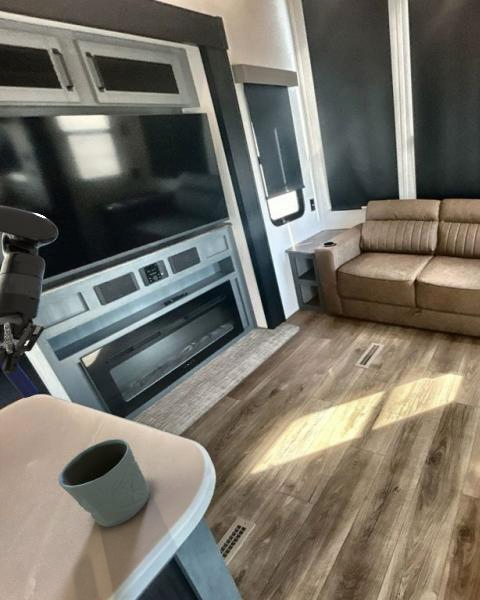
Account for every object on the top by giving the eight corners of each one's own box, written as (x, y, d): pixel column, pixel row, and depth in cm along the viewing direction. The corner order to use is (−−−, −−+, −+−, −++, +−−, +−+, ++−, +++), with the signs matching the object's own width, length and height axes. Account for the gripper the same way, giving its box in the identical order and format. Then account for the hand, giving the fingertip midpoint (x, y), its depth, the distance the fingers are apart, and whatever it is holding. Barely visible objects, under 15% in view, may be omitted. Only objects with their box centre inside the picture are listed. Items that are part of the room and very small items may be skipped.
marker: (19, 399, 82) (-15, 356, 77) (30, 390, 85) (-3, 348, 79) (31, 397, 82) (-2, 355, 77) (41, 389, 85) (10, 347, 79)
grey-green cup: (87, 510, 69) (51, 469, 63) (144, 470, 75) (116, 429, 70) (104, 542, 63) (67, 499, 57) (165, 495, 70) (136, 453, 64)
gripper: (-32, 295, 80) (-53, 375, 74) (30, 288, 79) (14, 367, 74) (5, 305, 87) (-11, 378, 82) (62, 298, 86) (49, 371, 81)
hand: (1, 372), depth 78 cm, fingers closed on marker, 3 cm apart
